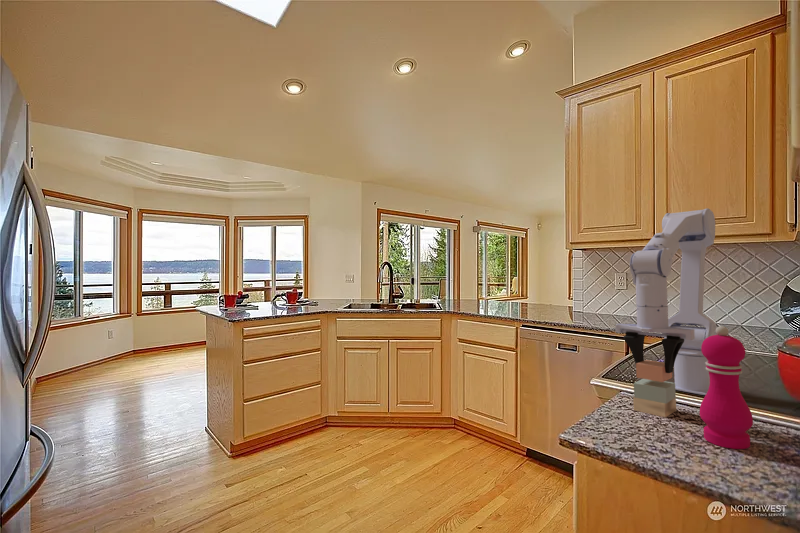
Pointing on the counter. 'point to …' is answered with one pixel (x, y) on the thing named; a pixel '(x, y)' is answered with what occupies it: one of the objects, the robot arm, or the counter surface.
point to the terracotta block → (652, 371)
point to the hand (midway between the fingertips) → (654, 369)
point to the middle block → (654, 390)
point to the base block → (654, 407)
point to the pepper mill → (725, 393)
